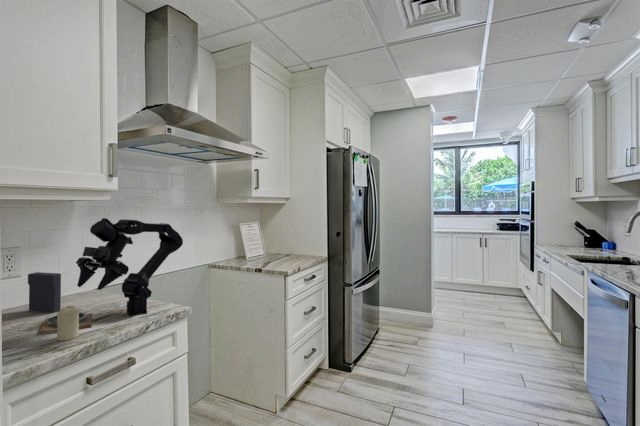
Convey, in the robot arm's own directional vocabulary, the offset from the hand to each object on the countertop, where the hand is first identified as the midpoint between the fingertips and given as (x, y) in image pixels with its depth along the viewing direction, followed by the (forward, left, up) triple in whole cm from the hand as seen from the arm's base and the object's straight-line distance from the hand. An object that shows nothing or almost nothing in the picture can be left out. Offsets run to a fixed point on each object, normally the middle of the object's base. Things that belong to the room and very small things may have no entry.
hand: (88, 288), depth 112 cm
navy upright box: (+15, -32, -15) cm, 38 cm away
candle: (+5, +4, -15) cm, 16 cm away
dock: (+6, -10, -15) cm, 19 cm away
